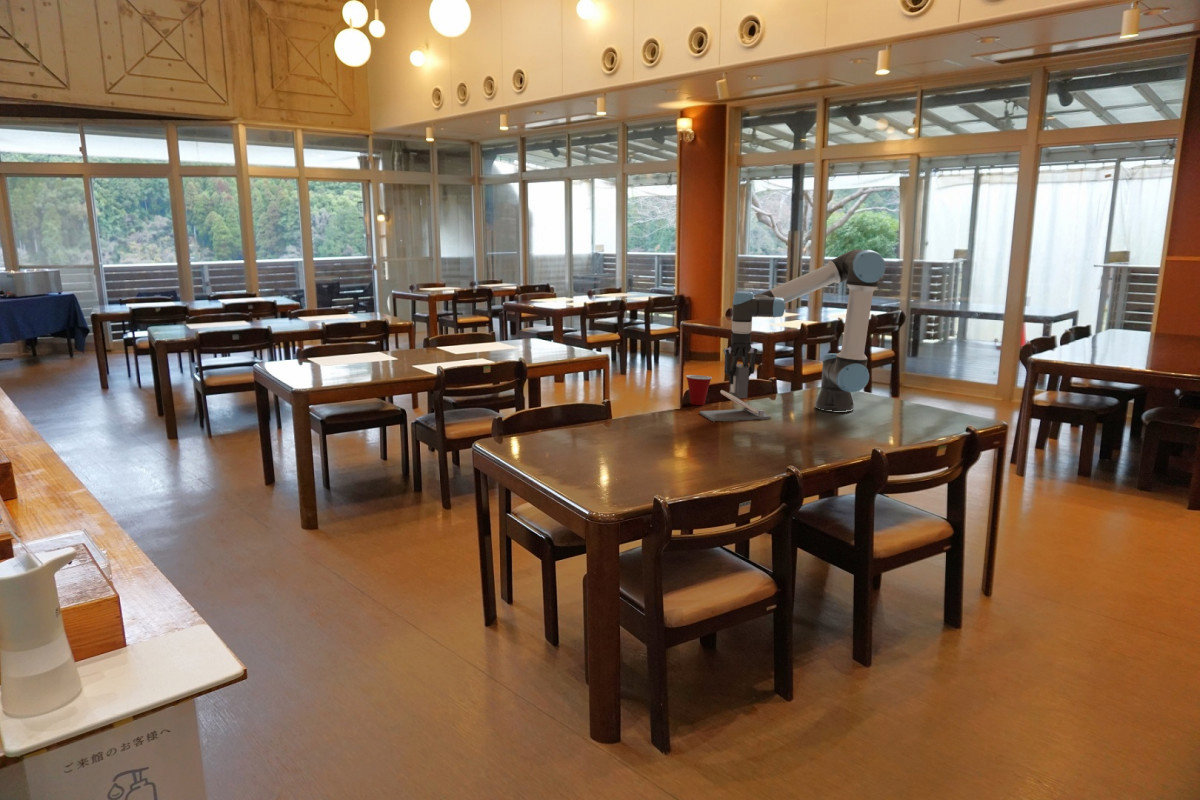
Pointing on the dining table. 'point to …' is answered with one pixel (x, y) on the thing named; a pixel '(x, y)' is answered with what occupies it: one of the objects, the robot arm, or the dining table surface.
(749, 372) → the robot arm
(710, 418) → the tile mat
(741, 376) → the gray rectangular block
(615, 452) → the dining table surface
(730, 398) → the tile
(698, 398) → the plastic cup
